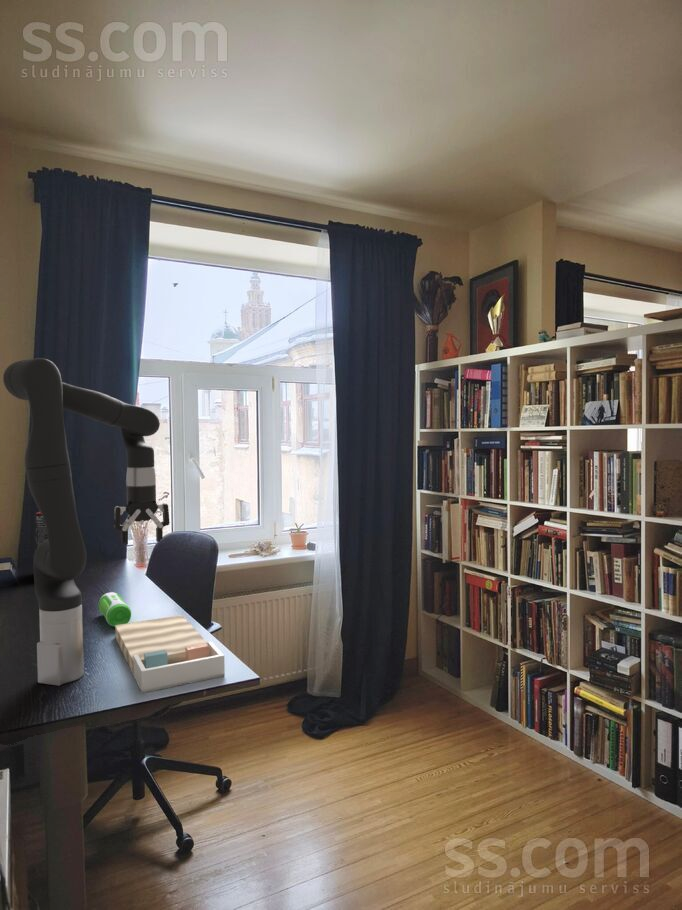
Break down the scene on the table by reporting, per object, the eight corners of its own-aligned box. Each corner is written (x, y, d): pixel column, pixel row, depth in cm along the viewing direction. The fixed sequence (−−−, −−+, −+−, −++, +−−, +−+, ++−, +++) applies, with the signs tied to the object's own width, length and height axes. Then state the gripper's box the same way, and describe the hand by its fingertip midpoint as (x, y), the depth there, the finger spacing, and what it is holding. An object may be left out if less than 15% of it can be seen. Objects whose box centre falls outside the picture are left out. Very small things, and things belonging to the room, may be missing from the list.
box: (224, 675, 142) (224, 655, 142) (142, 693, 133) (141, 671, 133) (211, 660, 152) (211, 641, 152) (133, 675, 143) (133, 655, 142)
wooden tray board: (211, 660, 152) (211, 646, 152) (133, 675, 143) (133, 661, 143) (182, 626, 178) (182, 614, 178) (115, 637, 169) (115, 625, 169)
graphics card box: (48, 571, 248) (46, 506, 247) (66, 570, 249) (64, 506, 248) (35, 582, 231) (33, 512, 230) (54, 581, 232) (52, 511, 231)
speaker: (133, 627, 178) (132, 602, 178) (107, 631, 174) (106, 606, 174) (121, 612, 193) (121, 589, 193) (97, 615, 189) (97, 592, 189)
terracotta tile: (205, 662, 149) (208, 665, 147) (185, 666, 146) (188, 670, 144) (205, 642, 149) (208, 646, 146) (185, 646, 146) (188, 649, 144)
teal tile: (165, 669, 144) (167, 673, 142) (144, 673, 142) (146, 677, 140) (165, 649, 144) (167, 653, 142) (143, 653, 142) (145, 656, 140)
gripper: (115, 486, 155) (116, 548, 155) (171, 483, 162) (172, 542, 162) (111, 484, 161) (112, 543, 162) (164, 481, 168) (165, 538, 169)
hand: (142, 542), depth 162 cm, fingers open, 8 cm apart
